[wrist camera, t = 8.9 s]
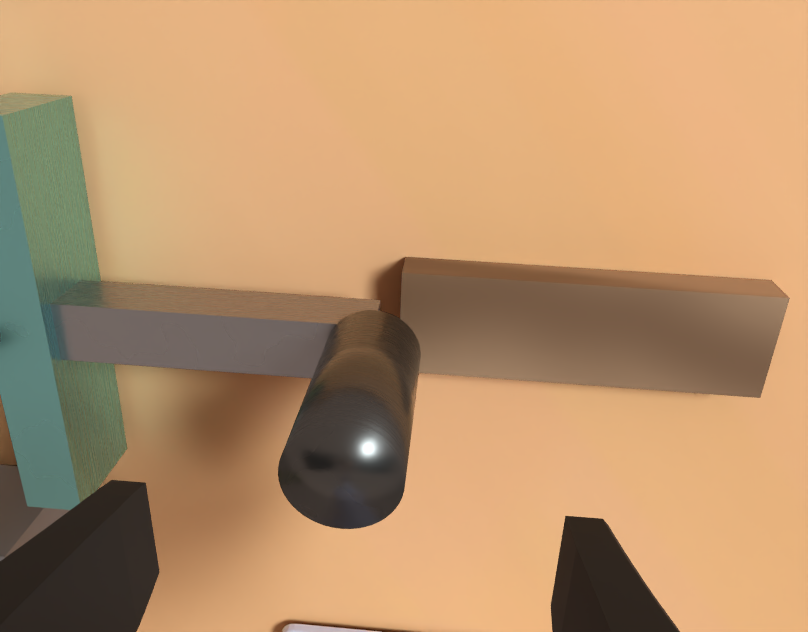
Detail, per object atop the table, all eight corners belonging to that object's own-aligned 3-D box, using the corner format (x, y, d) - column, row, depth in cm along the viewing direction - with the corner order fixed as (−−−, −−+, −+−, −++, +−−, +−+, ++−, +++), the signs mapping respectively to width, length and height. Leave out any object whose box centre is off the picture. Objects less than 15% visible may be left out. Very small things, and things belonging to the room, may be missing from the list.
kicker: (417, 472, 22) (395, 684, 16) (79, 444, 23) (-84, 637, 16) (437, 114, 18) (418, 197, 11) (11, 92, 18) (-258, 157, 11)
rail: (744, 375, 21) (760, 397, 19) (401, 351, 21) (397, 371, 20) (771, 280, 19) (789, 298, 18) (405, 256, 20) (401, 272, 19)
